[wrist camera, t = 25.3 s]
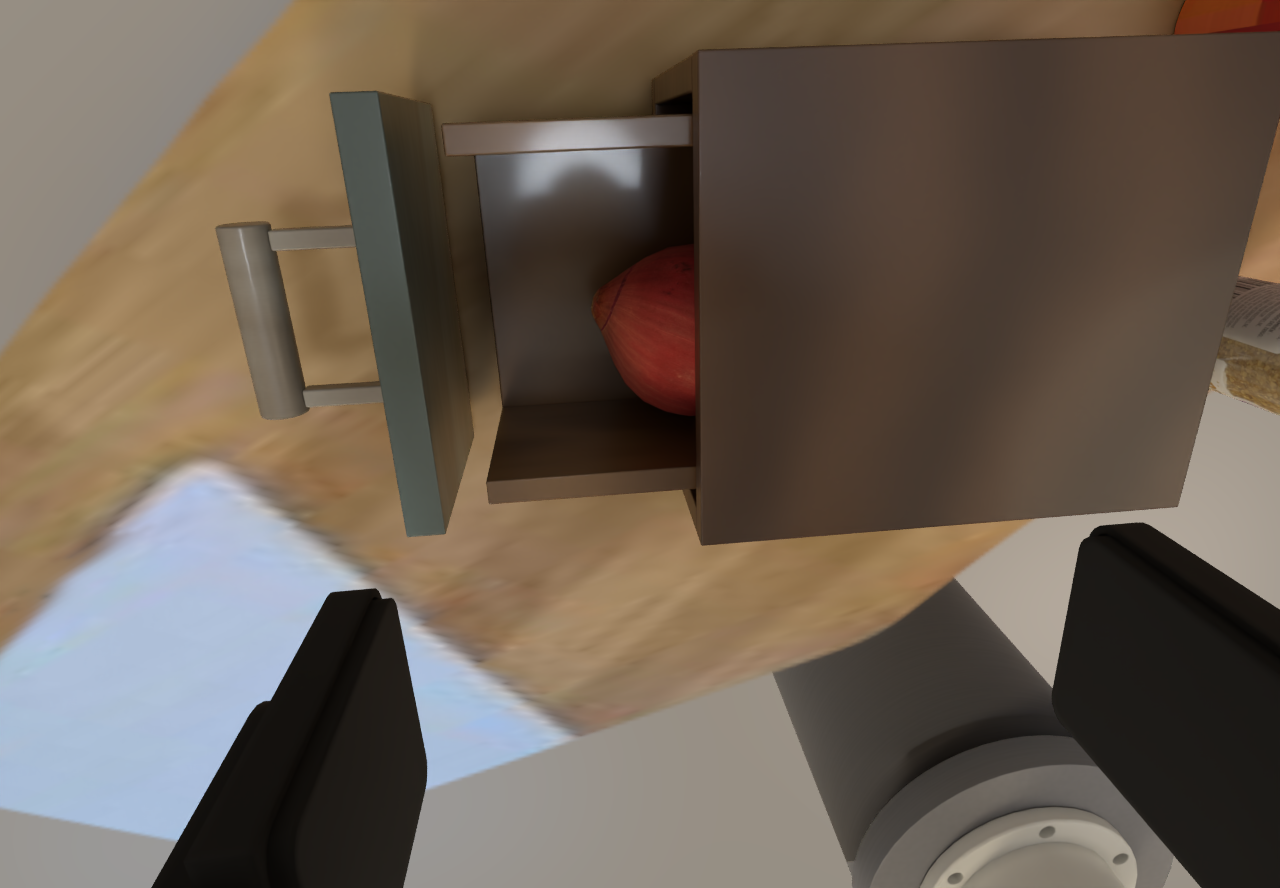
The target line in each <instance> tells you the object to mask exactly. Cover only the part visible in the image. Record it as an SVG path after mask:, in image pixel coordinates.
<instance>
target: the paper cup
mask: <svg viewBox="0 0 1280 888" xmlns="http://www.w3.org/2000/svg"><path fill="white" fill-rule="evenodd" d="M1267 31H1280V0H1186V1H1185V3H1184V5H1183V7H1182V9H1181V12H1180V14H1179V17H1178V20H1177V23H1176V27H1175V32H1174V34H1204V33H1236V32H1267Z"/></svg>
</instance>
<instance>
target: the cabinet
mask: <svg viewBox="0 0 1280 888" xmlns="http://www.w3.org/2000/svg"><path fill="white" fill-rule="evenodd" d="M675 114H693V197H694V300H695V403H696V489H684V490H683V493H684V496H685V499H686V502H687V505H688V508H689V510H690V513H691V516H692V519H693V522H694V525H695V528H696V531H697V534H698V537H699V540H700V543H701V545H716V544H728V543H740V542H752V541H765V540H777V539H789V538H802V537H814V536H826V535H838V534H851V533H863V532H875V531H888V530H900V529H912V528H924V527H937V526H949V525H961V524H974V523H986V522H998V521H1010V520H1023V519H1035V518H1046V517H1060V516H1072V515H1084V514H1096V513H1109V512H1121V511H1133V510H1146V509H1158V508H1170V507H1177V506H1178V504H1179V500H1180V497H1181V493H1182V489H1183V485H1184V481H1185V478H1186V474H1187V470H1188V466H1189V462H1190V458H1191V455H1192V451H1193V447H1194V443H1195V439H1196V435H1197V432H1198V428H1199V424H1200V420H1201V416H1202V412H1203V408H1204V405H1205V401H1206V397H1207V393H1208V390H1209V386H1210V382H1211V378H1212V374H1213V370H1214V367H1215V363H1216V359H1217V355H1218V351H1219V348H1220V344H1221V340H1222V336H1223V332H1224V328H1225V325H1226V321H1227V317H1228V313H1229V309H1230V305H1231V302H1232V298H1233V294H1234V290H1235V286H1236V283H1237V279H1238V275H1239V271H1240V267H1241V263H1242V260H1243V256H1244V252H1245V248H1246V244H1247V240H1248V237H1249V233H1250V229H1251V225H1252V221H1253V217H1254V214H1255V210H1256V206H1257V202H1258V198H1259V195H1260V191H1261V187H1262V183H1263V179H1264V175H1265V172H1266V168H1267V164H1268V160H1269V156H1270V152H1271V149H1272V145H1273V141H1274V137H1275V133H1276V130H1277V126H1278V122H1279V118H1280V31H1267V32H1236V33H1204V34H1173V35H1142V36H1111V37H1080V38H1049V39H1018V40H987V41H956V42H924V43H893V44H862V45H831V46H800V47H769V48H738V49H707V50H698V51H696V52H695V53H693V54H692V55H691V56H689V57H688V58H686V59H684V60H683V61H681V62H680V63H678V64H676V65H675V66H673V67H672V68H670V69H668V70H667V71H665V72H664V73H662V74H660V75H659V76H657V77H655V78H654V79H652V115H675Z"/></svg>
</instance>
